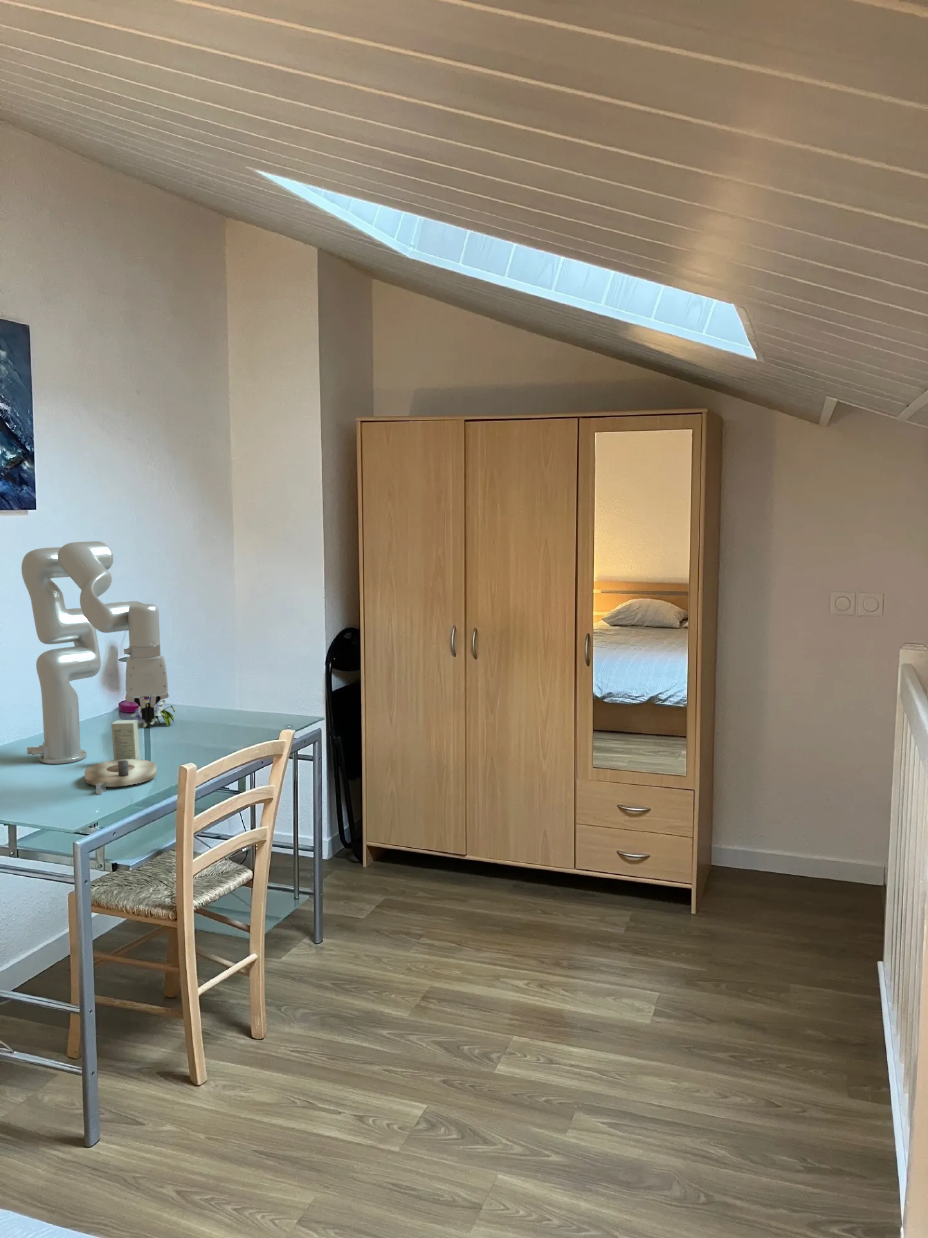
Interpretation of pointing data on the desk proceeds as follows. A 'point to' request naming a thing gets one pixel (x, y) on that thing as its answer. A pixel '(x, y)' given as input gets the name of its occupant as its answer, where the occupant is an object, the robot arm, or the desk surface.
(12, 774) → the desk surface
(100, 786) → the grey small block
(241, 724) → the desk surface
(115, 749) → the skincare box
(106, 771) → the turntable
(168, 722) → the passion flower
